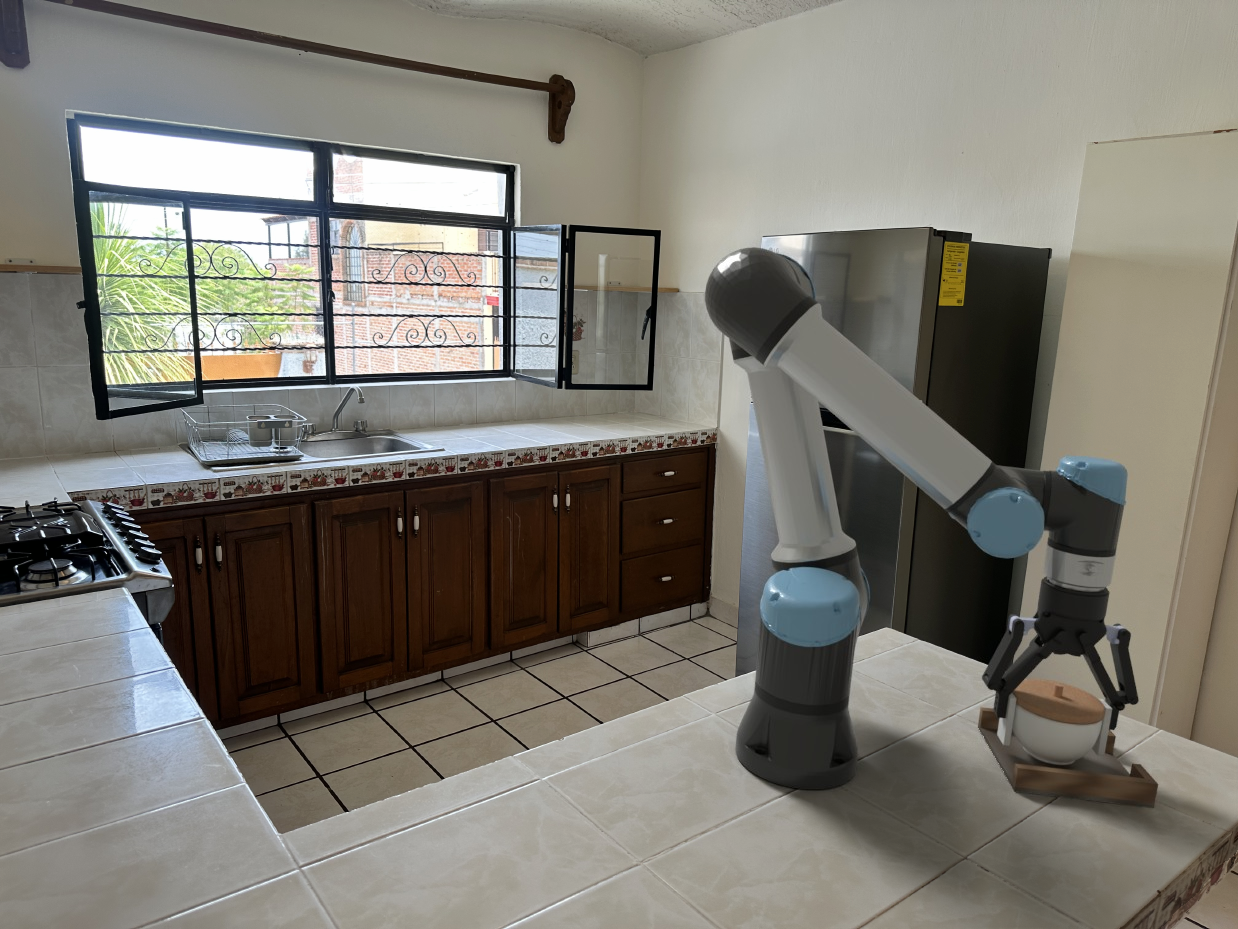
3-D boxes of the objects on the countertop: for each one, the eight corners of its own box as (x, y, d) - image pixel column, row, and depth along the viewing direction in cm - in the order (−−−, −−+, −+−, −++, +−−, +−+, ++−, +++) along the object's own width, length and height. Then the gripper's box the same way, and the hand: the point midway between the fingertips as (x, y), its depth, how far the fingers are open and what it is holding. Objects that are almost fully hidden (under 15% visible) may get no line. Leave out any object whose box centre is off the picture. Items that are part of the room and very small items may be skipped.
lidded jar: (1073, 736, 113) (1084, 670, 112) (1111, 779, 103) (1124, 708, 101) (991, 728, 114) (1001, 663, 113) (1020, 770, 104) (1031, 700, 102)
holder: (1014, 791, 102) (1017, 768, 101) (977, 727, 117) (980, 707, 117) (1153, 808, 100) (1158, 784, 99) (1097, 741, 115) (1101, 720, 115)
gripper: (986, 582, 102) (963, 749, 106) (1192, 601, 99) (1160, 772, 103) (970, 564, 109) (949, 721, 114) (1161, 581, 106) (1132, 741, 111)
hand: (1049, 745), depth 108 cm, fingers closed on lidded jar, 11 cm apart
